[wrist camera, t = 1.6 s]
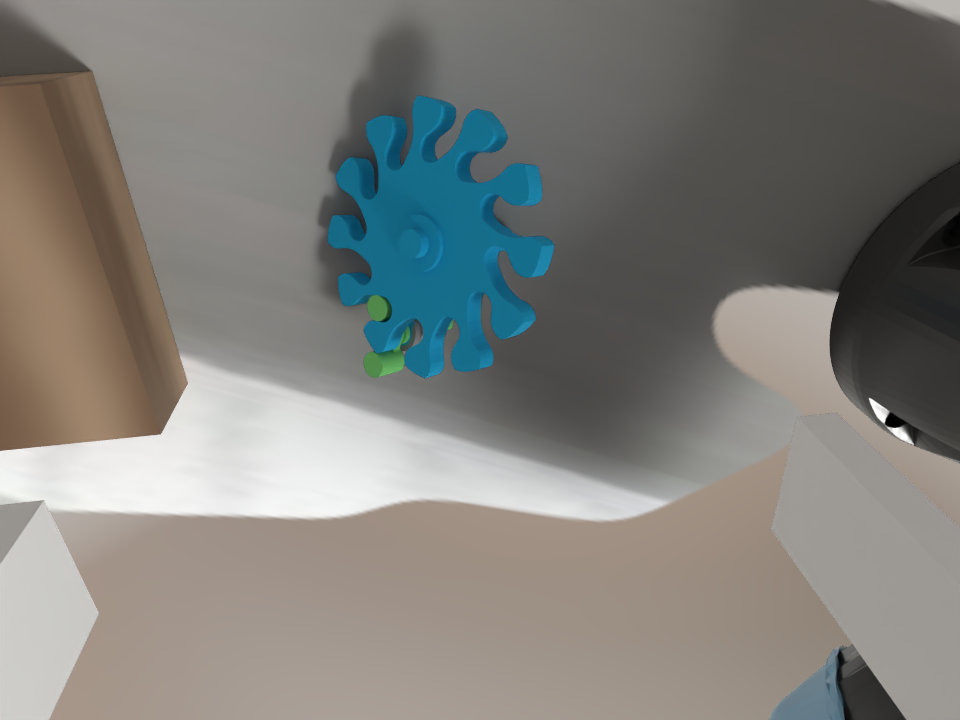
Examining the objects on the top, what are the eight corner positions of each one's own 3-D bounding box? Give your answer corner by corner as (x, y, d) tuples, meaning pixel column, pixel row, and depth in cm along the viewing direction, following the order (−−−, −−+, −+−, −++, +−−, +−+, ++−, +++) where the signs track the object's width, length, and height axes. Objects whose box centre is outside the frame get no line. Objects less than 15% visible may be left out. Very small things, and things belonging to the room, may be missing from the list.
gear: (377, 36, 23) (589, 204, 19) (479, 67, 27) (664, 206, 24) (278, 290, 28) (429, 457, 25) (377, 280, 33) (515, 418, 29)
